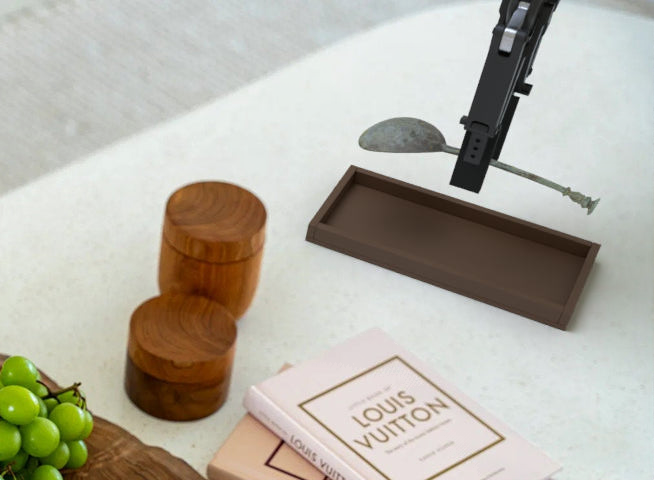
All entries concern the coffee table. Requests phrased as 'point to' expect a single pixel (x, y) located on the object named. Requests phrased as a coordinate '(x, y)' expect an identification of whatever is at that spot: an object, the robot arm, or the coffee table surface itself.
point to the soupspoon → (442, 149)
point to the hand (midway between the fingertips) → (474, 170)
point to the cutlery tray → (455, 245)
